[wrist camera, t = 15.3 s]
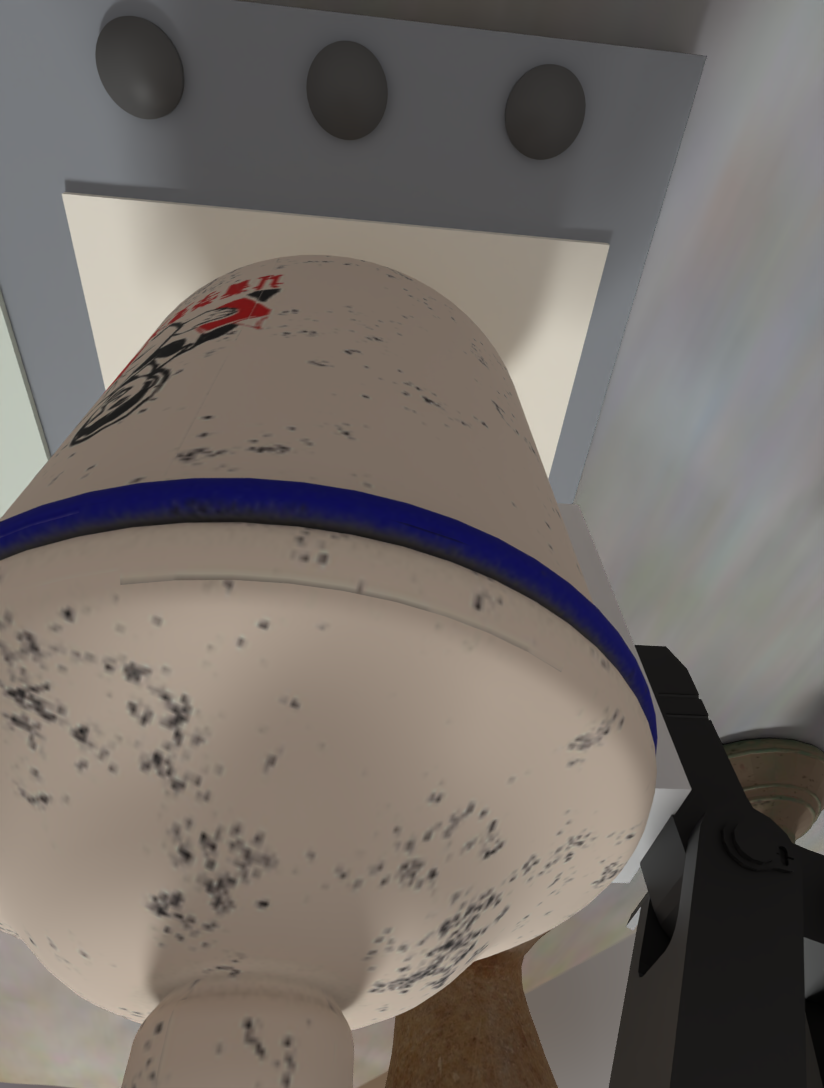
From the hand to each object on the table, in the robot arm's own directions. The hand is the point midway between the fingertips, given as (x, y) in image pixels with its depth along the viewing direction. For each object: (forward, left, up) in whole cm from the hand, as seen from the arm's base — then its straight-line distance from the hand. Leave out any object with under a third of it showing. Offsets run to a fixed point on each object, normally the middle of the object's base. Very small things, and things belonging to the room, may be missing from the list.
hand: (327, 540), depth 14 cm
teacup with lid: (-1, 0, -2) cm, 2 cm away
